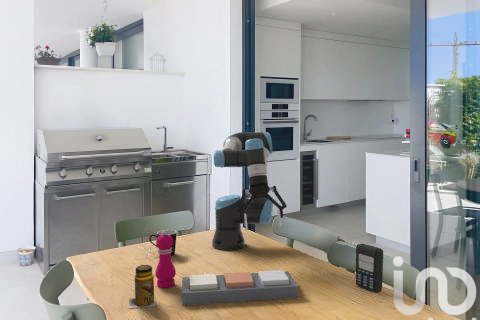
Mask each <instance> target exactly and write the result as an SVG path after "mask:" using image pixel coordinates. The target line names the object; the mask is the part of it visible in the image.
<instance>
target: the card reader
mask: <svg viewBox="0 0 480 320" xmlns="http://www.w3.org/2000/svg"><path fill="white" fill-rule="evenodd" d="M355 247H356V248H355V284H356V285H357V287H360V288H362V289H365V290H368V291H369V292H370V291H371V292H373V293H380V292H382V290H383V277H384V273H383V271H384V250H383V249H382V248H381V247H377V246H373V245H371V244H365V243H358V244H357V245H356V246H355Z"/></svg>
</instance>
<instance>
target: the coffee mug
mask: <svg viewBox="0 0 480 320" xmlns="http://www.w3.org/2000/svg"><path fill="white" fill-rule="evenodd" d="M164 230H165V231H167V235H170V236H171V237H172V239H173V245H172V246H171V248H172V252H171V257H174V256H176V245H177V235H178V231H177V230H175V229H174V230H173V229H162V230H159V231H157V232H156V234H151V235H150V236H149V237H148V240H149V242H150V243H151V244H152V245H153V246H155V247H156V248H157V249H158V246H157V245H156V243H154V242H153V241H152V239H151V238H152V237H155V238H156V239H157V238H158V237H159V236H160V235H162V231H164Z"/></svg>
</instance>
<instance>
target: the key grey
mask: <svg viewBox="0 0 480 320" xmlns="http://www.w3.org/2000/svg"><path fill="white" fill-rule="evenodd" d="M257 273H258V278H259V281H260V283H261V285H262V286H266V285H282V284H289V279H288V277H287V275H286V274H285V272H284V269H278V270H277V269H276V270H261V271H260V270H259V271H257Z"/></svg>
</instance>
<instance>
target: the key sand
mask: <svg viewBox="0 0 480 320" xmlns="http://www.w3.org/2000/svg"><path fill="white" fill-rule="evenodd" d="M216 275H217V274H216V273H207V274H189V277H190V290H200V289H216V288H218V287H217V279H216Z"/></svg>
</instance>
